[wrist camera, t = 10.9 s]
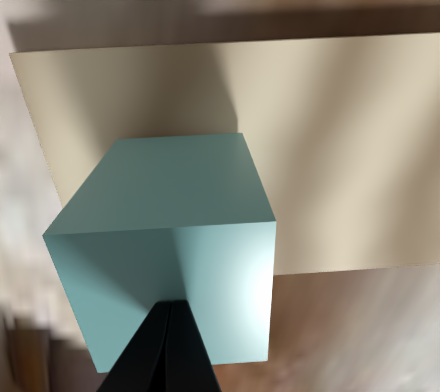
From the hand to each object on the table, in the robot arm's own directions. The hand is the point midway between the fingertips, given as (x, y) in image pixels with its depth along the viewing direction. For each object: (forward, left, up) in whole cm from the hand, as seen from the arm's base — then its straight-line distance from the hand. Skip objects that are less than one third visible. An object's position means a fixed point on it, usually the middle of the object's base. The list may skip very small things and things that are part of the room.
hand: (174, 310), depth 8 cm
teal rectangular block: (0, 0, -7) cm, 7 cm away
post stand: (-6, 0, -8) cm, 10 cm away
